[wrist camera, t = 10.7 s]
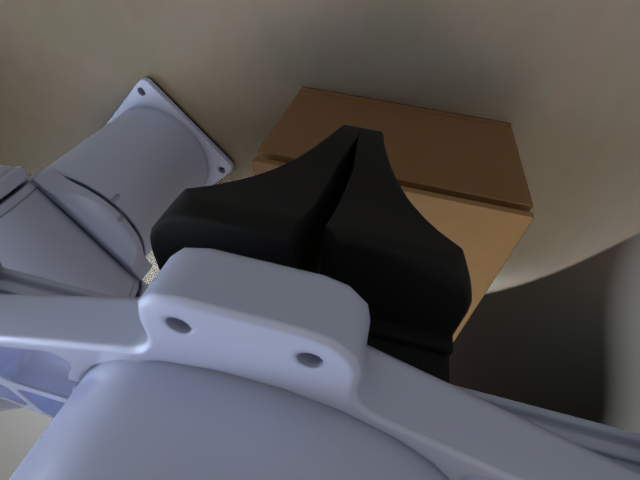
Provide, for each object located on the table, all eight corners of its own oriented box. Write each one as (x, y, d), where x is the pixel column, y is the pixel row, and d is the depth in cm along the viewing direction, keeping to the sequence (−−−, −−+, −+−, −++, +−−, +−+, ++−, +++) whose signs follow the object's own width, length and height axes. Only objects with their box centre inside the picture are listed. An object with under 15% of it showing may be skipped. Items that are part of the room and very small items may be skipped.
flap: (533, 212, 15) (534, 217, 15) (437, 362, 24) (437, 367, 24) (389, 183, 16) (389, 187, 15) (350, 339, 25) (349, 344, 24)
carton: (510, 123, 20) (537, 217, 15) (439, 273, 29) (438, 367, 24) (302, 86, 22) (250, 159, 16) (296, 240, 31) (262, 322, 25)
